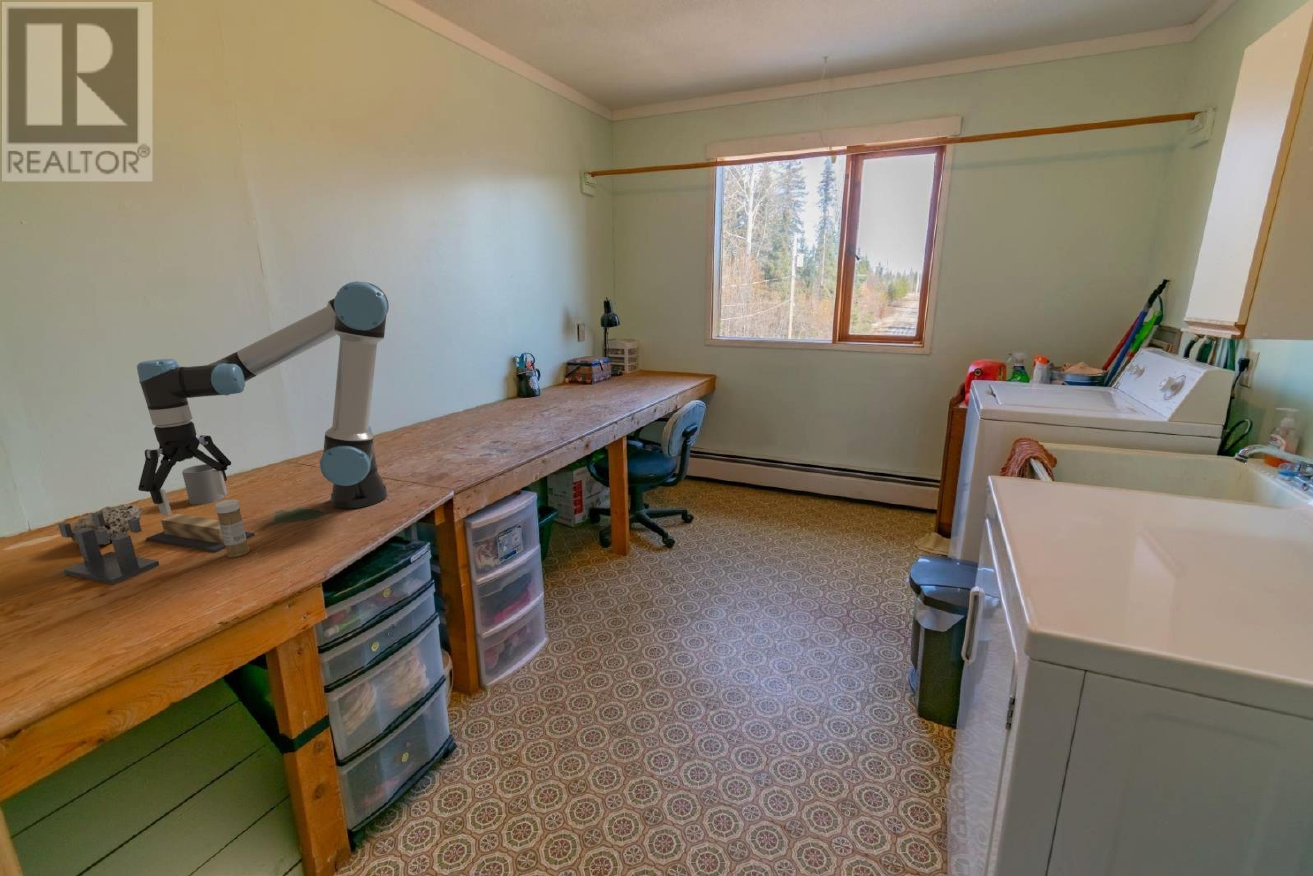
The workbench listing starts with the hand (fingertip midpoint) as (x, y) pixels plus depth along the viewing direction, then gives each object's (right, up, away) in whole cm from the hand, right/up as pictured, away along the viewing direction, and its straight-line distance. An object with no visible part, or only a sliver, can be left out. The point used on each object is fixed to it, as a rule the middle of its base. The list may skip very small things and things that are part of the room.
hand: (196, 504), depth 141 cm
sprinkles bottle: (+16, -12, -6) cm, 20 cm away
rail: (-1, -8, +2) cm, 9 cm away
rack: (-7, -13, -14) cm, 21 cm away
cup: (-20, -2, +28) cm, 34 cm away
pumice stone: (-23, -9, +2) cm, 25 cm away
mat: (0, -9, +2) cm, 9 cm away
